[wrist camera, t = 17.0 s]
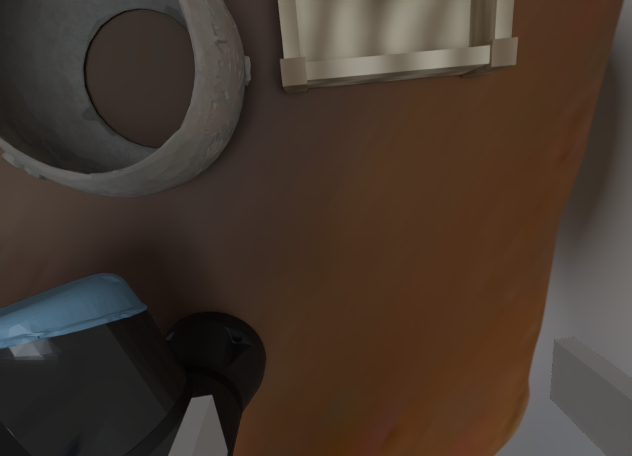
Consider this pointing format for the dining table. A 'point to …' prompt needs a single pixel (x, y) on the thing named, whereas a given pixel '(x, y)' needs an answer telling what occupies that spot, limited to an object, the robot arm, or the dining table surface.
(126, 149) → the bowl
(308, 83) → the crate
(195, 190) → the dining table surface
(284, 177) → the dining table surface
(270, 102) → the dining table surface
